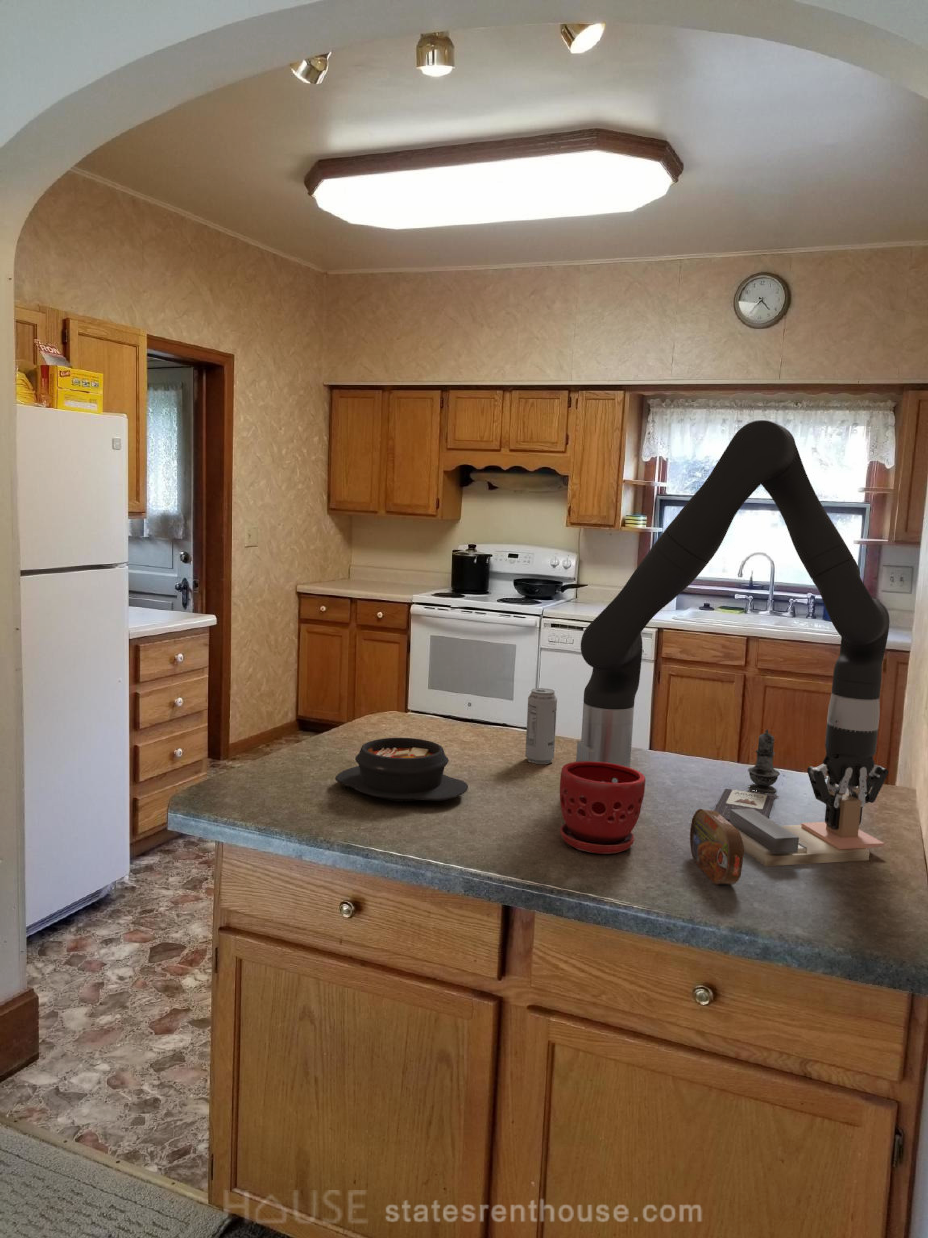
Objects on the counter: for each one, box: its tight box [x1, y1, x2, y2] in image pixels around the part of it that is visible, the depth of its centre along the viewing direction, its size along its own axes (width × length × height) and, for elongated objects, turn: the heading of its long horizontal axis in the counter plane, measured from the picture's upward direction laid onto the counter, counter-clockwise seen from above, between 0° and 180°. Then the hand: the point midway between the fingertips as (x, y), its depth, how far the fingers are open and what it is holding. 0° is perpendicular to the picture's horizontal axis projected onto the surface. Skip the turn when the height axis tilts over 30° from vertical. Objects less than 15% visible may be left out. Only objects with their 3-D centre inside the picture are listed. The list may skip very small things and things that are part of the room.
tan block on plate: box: [800, 792, 885, 849], centre depth 143 cm, size 8×10×7 cm
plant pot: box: [559, 761, 646, 855], centre depth 140 cm, size 13×13×12 cm
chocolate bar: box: [713, 788, 776, 822], centre depth 161 cm, size 9×1×18 cm
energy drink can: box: [524, 687, 558, 765], centre depth 185 cm, size 6×6×15 cm
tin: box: [689, 808, 745, 885], centre depth 131 cm, size 15×3×8 cm, turn 5°
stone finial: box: [747, 728, 781, 795], centre depth 172 cm, size 6×6×12 cm
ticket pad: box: [730, 809, 870, 867], centre depth 142 cm, size 18×13×4 cm
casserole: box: [335, 737, 469, 802], centre depth 162 cm, size 25×19×8 cm
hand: (842, 827), depth 144 cm, fingers closed on tan block on plate, 3 cm apart
